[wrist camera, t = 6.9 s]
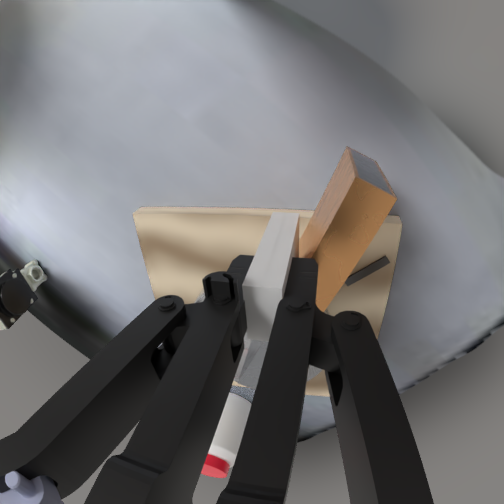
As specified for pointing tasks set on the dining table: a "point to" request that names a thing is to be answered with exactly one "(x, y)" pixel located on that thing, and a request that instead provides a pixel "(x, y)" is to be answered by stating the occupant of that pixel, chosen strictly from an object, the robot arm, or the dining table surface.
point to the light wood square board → (246, 243)
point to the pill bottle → (227, 437)
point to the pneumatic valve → (18, 292)
